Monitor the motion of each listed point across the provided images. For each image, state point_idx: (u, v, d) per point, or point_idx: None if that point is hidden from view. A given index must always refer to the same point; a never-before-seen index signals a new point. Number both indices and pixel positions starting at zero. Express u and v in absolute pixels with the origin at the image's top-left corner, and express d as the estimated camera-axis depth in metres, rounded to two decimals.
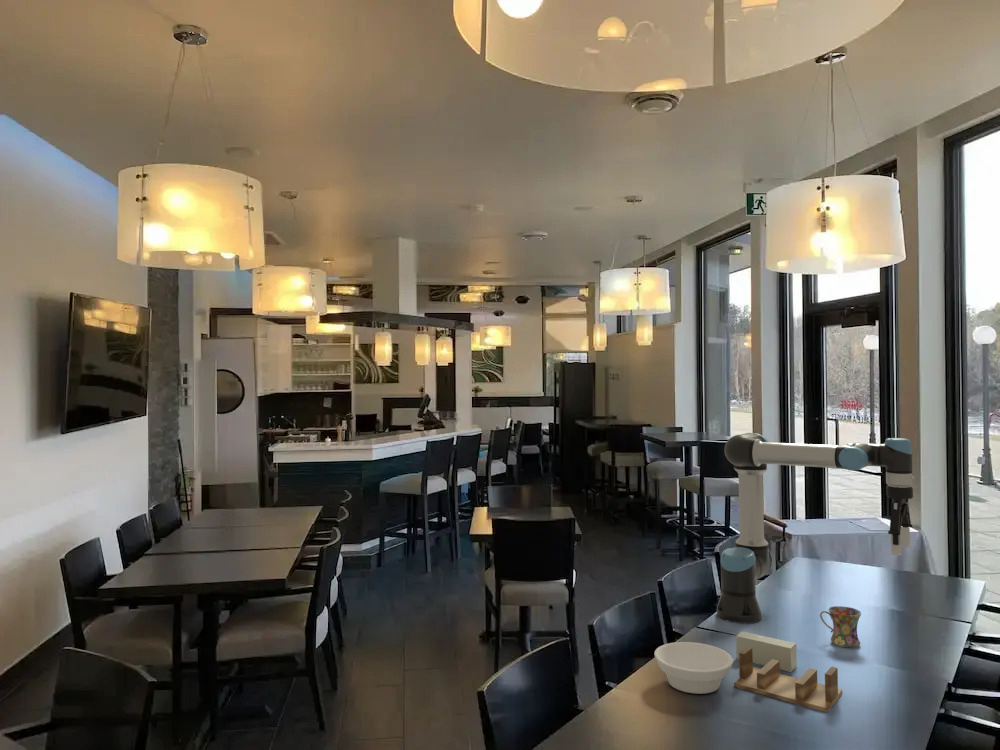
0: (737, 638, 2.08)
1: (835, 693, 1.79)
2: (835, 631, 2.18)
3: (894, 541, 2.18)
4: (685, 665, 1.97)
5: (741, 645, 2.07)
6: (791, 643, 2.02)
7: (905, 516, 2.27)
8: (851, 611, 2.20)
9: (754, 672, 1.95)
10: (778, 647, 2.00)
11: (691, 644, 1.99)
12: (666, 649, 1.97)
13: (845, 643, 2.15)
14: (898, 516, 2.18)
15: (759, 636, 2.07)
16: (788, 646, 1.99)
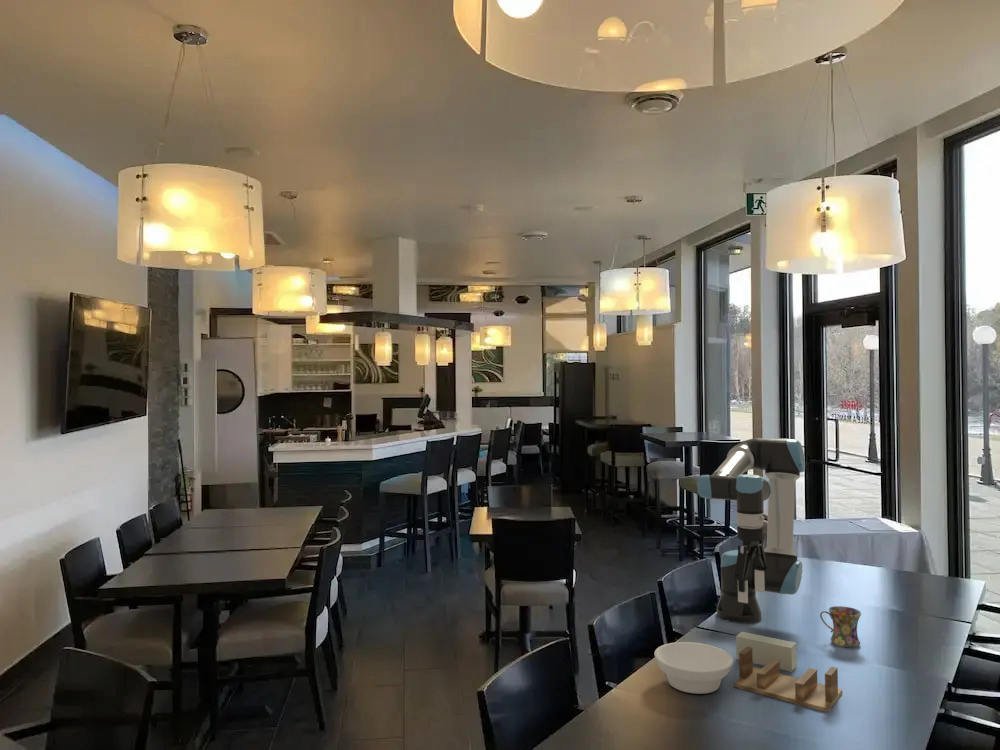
0: (737, 638, 2.08)
1: (835, 693, 1.79)
2: (835, 631, 2.18)
3: (740, 588, 2.02)
4: (685, 665, 1.97)
5: (741, 646, 2.07)
6: (791, 643, 2.02)
7: (758, 559, 2.10)
8: (851, 611, 2.20)
9: (754, 672, 1.95)
10: (778, 647, 2.00)
11: (691, 644, 1.99)
12: (666, 649, 1.97)
13: (845, 643, 2.15)
14: (744, 561, 2.01)
15: (759, 636, 2.07)
16: (788, 646, 1.99)
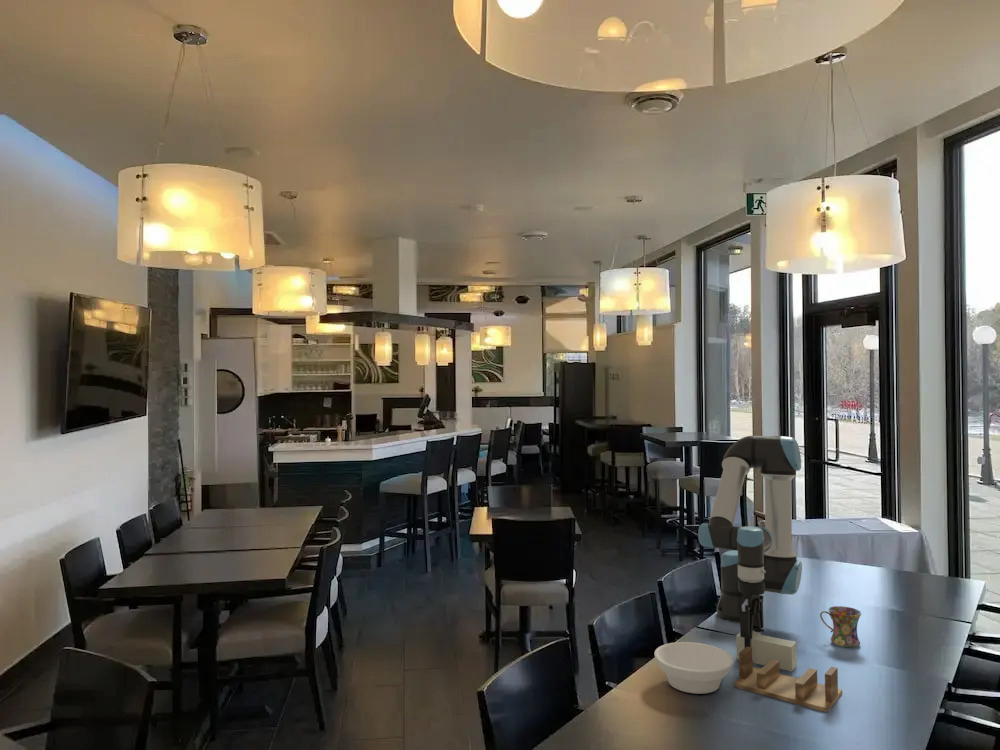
0: (737, 638, 2.08)
1: (835, 693, 1.79)
2: (835, 631, 2.18)
3: (746, 645, 2.04)
4: (685, 665, 1.97)
5: (741, 645, 2.07)
6: (791, 642, 2.02)
7: (756, 615, 2.08)
8: (851, 611, 2.20)
9: (754, 672, 1.95)
10: (779, 646, 2.00)
11: (691, 644, 1.99)
12: (666, 649, 1.97)
13: (845, 643, 2.15)
14: (747, 620, 2.02)
15: (759, 635, 2.08)
16: (788, 645, 1.99)
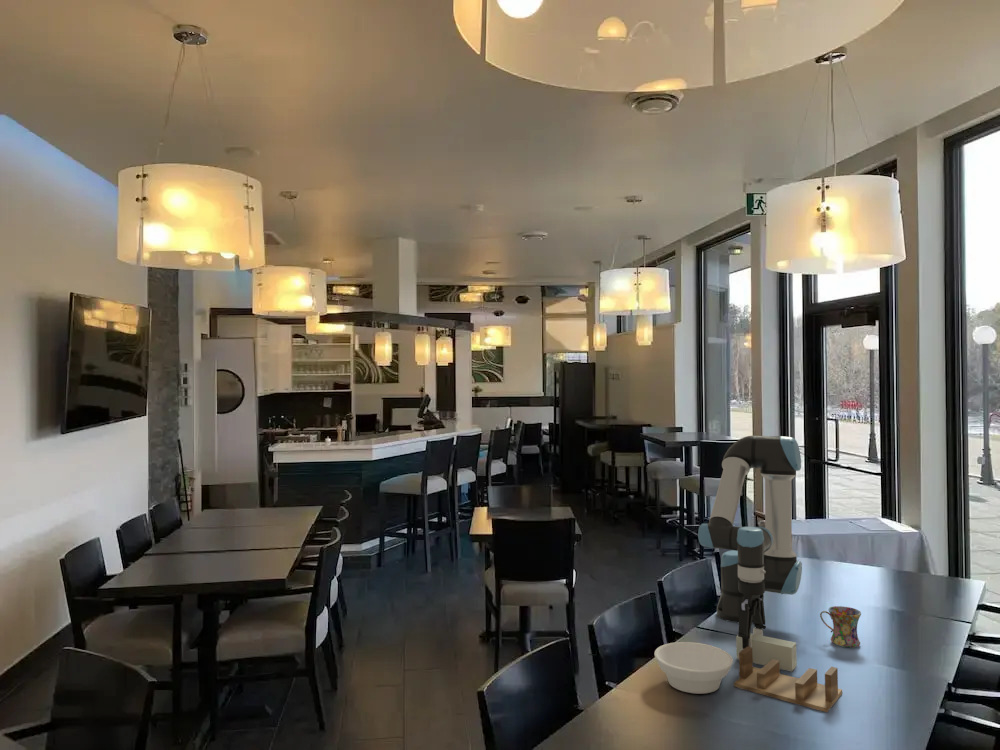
0: (737, 638, 2.08)
1: (835, 693, 1.79)
2: (835, 631, 2.18)
3: (743, 645, 2.03)
4: (685, 665, 1.97)
5: (741, 646, 2.07)
6: (791, 642, 2.02)
7: (757, 614, 2.09)
8: (851, 611, 2.20)
9: (754, 672, 1.95)
10: (779, 647, 2.00)
11: (691, 644, 1.99)
12: (666, 649, 1.97)
13: (845, 643, 2.15)
14: (746, 618, 2.02)
15: (759, 636, 2.07)
16: (788, 646, 1.99)
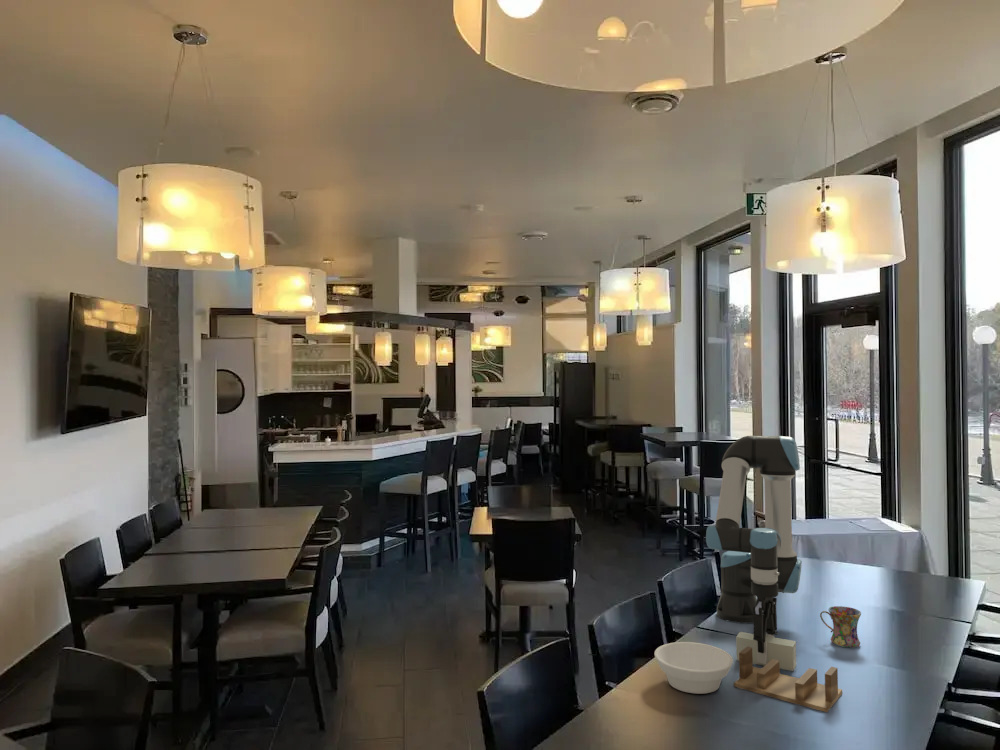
0: (737, 639, 2.07)
1: (835, 693, 1.79)
2: (835, 631, 2.18)
3: (759, 648, 2.01)
4: (685, 665, 1.97)
5: (741, 646, 2.06)
6: (791, 641, 2.02)
7: (770, 618, 2.06)
8: (851, 611, 2.20)
9: (754, 672, 1.95)
10: (780, 646, 2.00)
11: (691, 644, 1.99)
12: (666, 649, 1.97)
13: (845, 643, 2.15)
14: (760, 622, 2.00)
15: None
16: (790, 645, 2.00)
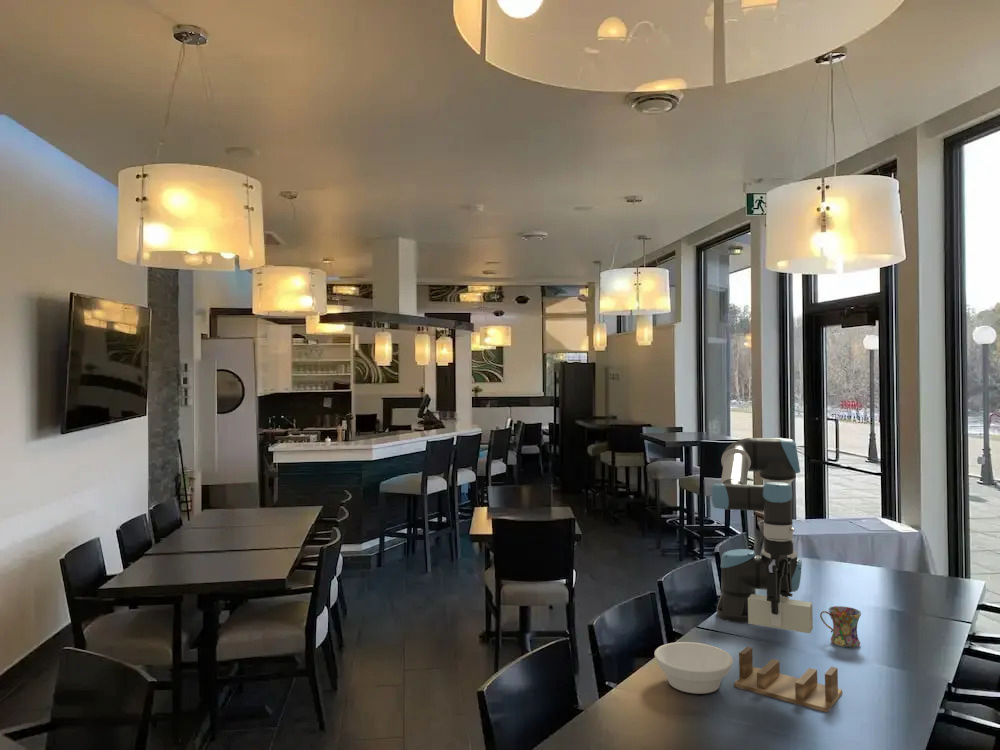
0: (749, 600, 1.93)
1: (835, 693, 1.79)
2: (835, 631, 2.18)
3: (773, 610, 1.87)
4: (685, 665, 1.97)
5: (753, 608, 1.92)
6: (807, 602, 1.88)
7: (784, 578, 1.92)
8: (851, 611, 2.20)
9: (754, 672, 1.95)
10: (795, 607, 1.86)
11: (691, 644, 1.99)
12: (666, 649, 1.97)
13: (845, 643, 2.15)
14: (774, 581, 1.86)
15: None
16: (806, 605, 1.86)
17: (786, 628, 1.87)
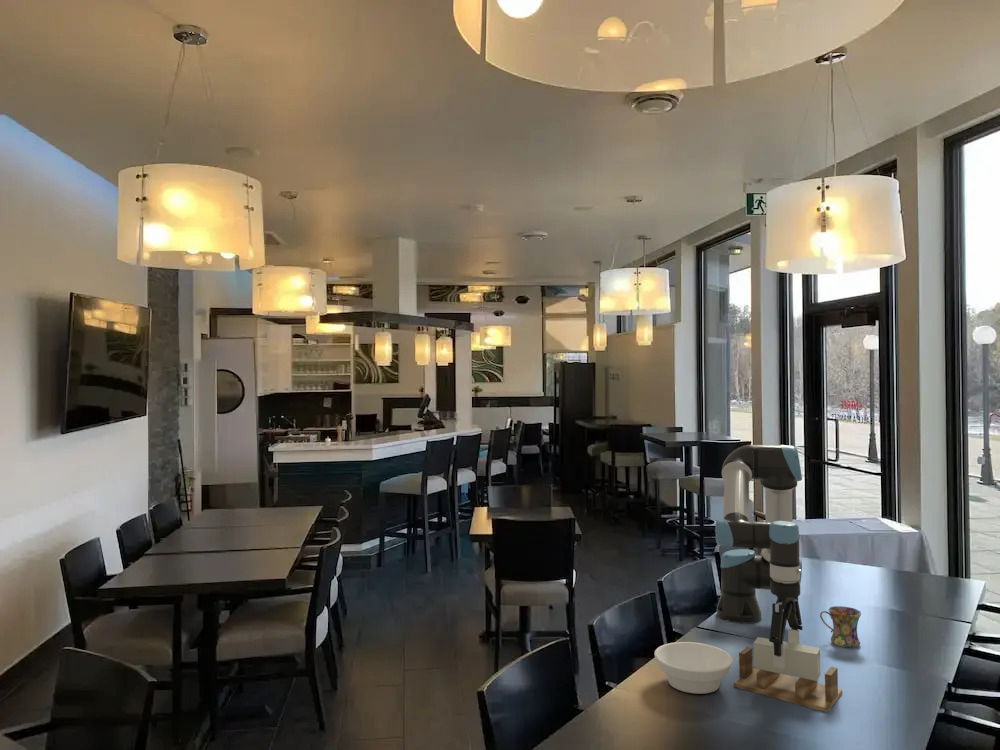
0: (755, 645, 1.88)
1: (835, 693, 1.79)
2: (835, 631, 2.18)
3: (775, 651, 1.81)
4: (685, 665, 1.97)
5: (759, 653, 1.88)
6: (815, 648, 1.84)
7: (793, 616, 1.89)
8: (851, 611, 2.20)
9: (754, 672, 1.95)
10: (802, 653, 1.82)
11: (691, 644, 1.99)
12: (666, 649, 1.97)
13: (845, 643, 2.15)
14: (780, 621, 1.80)
15: None
16: (813, 652, 1.81)
17: (793, 674, 1.83)
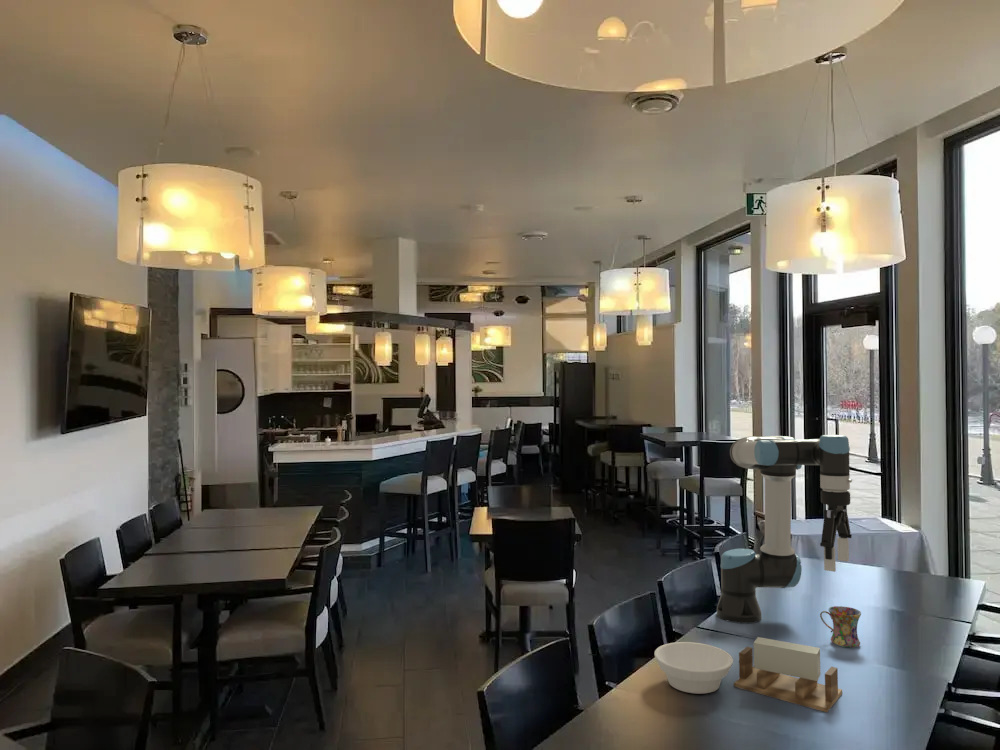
0: (755, 645, 1.88)
1: (835, 693, 1.79)
2: (835, 631, 2.18)
3: (827, 555, 1.87)
4: (685, 665, 1.97)
5: (759, 653, 1.88)
6: (815, 648, 1.84)
7: (842, 525, 1.96)
8: (851, 611, 2.20)
9: (754, 672, 1.95)
10: (802, 653, 1.82)
11: (691, 644, 1.99)
12: (666, 649, 1.97)
13: (845, 643, 2.15)
14: (831, 526, 1.87)
15: (778, 642, 1.89)
16: (813, 652, 1.81)
17: (793, 674, 1.83)
